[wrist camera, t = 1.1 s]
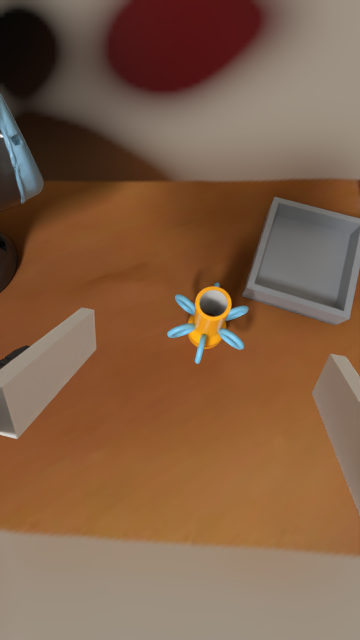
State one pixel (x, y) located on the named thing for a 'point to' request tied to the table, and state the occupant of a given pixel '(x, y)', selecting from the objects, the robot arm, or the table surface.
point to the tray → (306, 261)
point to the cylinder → (209, 319)
